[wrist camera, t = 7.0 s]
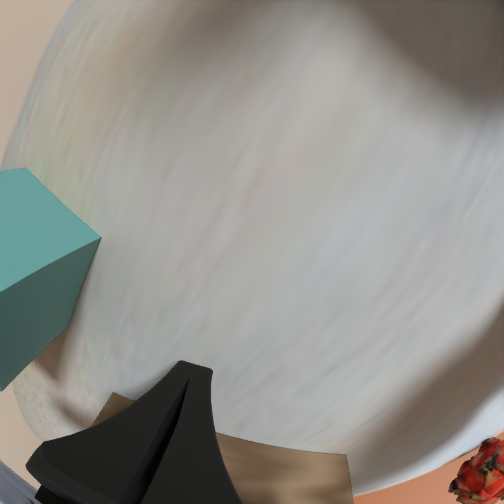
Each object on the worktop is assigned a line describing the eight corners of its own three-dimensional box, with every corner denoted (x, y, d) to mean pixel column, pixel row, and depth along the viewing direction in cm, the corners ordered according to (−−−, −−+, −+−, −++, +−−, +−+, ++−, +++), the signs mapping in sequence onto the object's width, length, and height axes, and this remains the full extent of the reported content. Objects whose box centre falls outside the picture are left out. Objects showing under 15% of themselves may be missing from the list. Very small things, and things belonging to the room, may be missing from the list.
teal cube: (102, 236, 10) (-8, 297, 4) (69, 327, 12) (1, 393, 6) (27, 167, 10) (-70, 186, 4) (6, 261, 11) (-64, 300, 6)
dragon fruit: (471, 459, 17) (460, 421, 17) (526, 449, 11) (533, 405, 10) (449, 516, 12) (433, 497, 11) (509, 511, 5) (518, 490, 5)
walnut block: (346, 454, 13) (356, 523, 8) (334, 465, 14) (341, 530, 8) (113, 392, 13) (71, 459, 8) (113, 405, 13) (76, 469, 8)
